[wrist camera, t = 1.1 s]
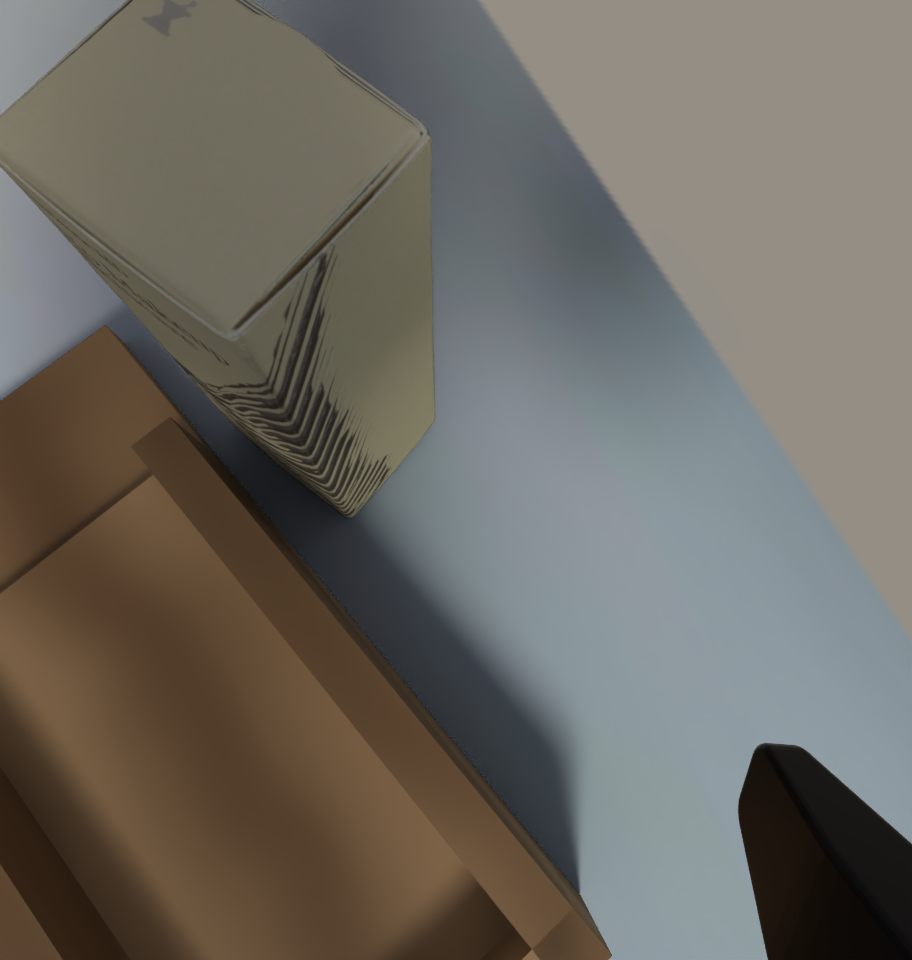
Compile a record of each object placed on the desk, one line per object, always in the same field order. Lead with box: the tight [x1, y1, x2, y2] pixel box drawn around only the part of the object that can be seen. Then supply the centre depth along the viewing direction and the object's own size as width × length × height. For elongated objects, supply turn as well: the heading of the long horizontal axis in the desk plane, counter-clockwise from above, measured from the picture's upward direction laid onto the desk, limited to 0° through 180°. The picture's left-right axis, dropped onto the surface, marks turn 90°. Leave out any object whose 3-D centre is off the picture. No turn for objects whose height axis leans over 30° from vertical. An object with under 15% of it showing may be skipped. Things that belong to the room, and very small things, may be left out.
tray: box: [0, 325, 612, 960], centre depth 18 cm, size 10×21×4 cm, turn 41°
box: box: [0, 0, 435, 518], centre depth 16 cm, size 5×4×13 cm
